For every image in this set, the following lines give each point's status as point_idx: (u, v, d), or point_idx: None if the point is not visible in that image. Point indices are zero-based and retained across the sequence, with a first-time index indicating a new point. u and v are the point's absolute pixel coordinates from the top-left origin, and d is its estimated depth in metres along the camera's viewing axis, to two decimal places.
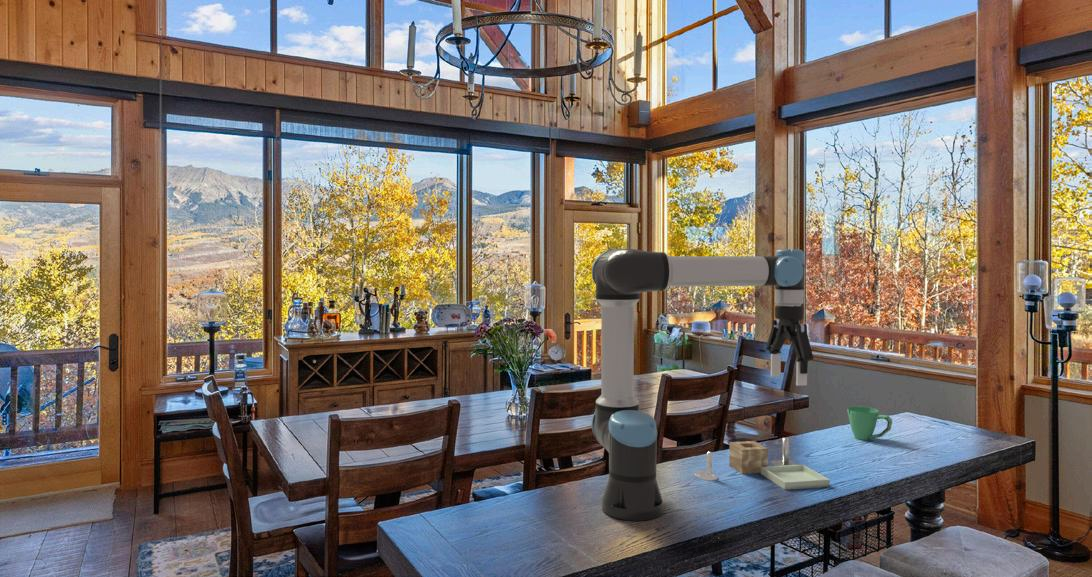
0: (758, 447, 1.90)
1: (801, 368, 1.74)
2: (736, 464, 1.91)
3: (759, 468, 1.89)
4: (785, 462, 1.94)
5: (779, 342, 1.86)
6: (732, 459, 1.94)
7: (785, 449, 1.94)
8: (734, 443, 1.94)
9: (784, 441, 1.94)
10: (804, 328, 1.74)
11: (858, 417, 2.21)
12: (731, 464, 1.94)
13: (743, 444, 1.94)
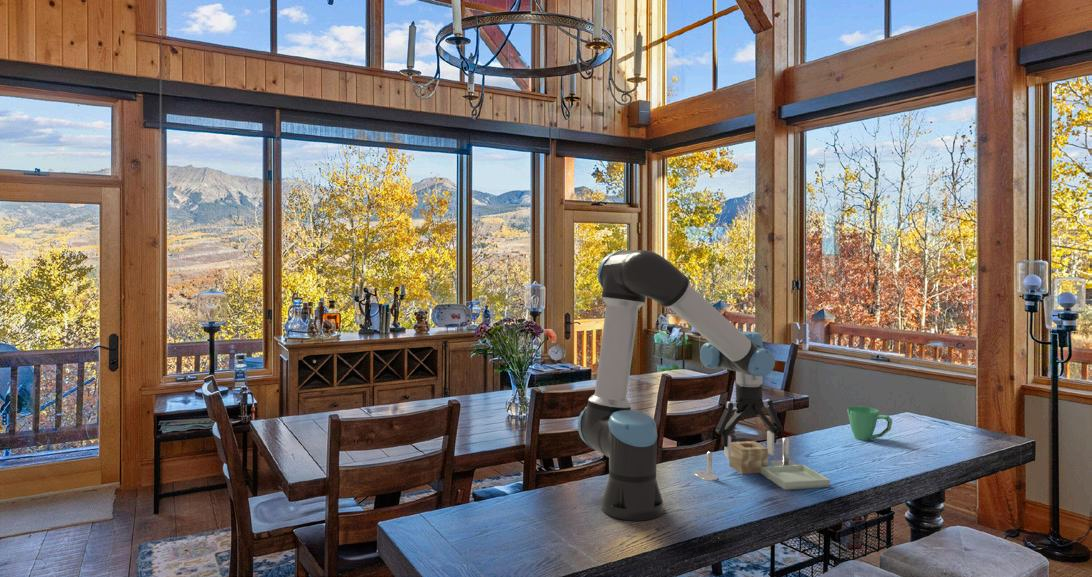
0: (758, 447, 1.90)
1: None
2: (736, 464, 1.91)
3: (759, 468, 1.89)
4: (785, 462, 1.94)
5: (762, 420, 1.93)
6: (732, 459, 1.94)
7: (785, 449, 1.94)
8: (734, 443, 1.94)
9: (784, 441, 1.94)
10: (728, 406, 1.90)
11: (859, 417, 2.21)
12: (731, 464, 1.94)
13: (743, 444, 1.94)
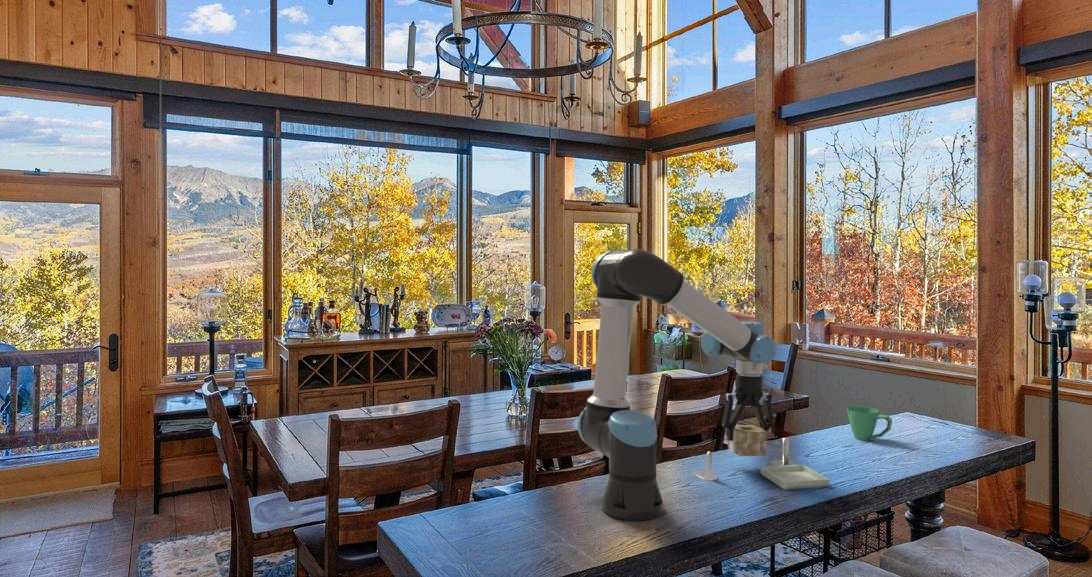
0: (757, 430, 1.90)
1: None
2: None
3: (758, 451, 1.88)
4: (785, 462, 1.94)
5: (756, 413, 1.92)
6: None
7: (785, 449, 1.94)
8: None
9: (784, 441, 1.94)
10: (727, 398, 1.90)
11: (858, 417, 2.21)
12: None
13: (742, 427, 1.94)
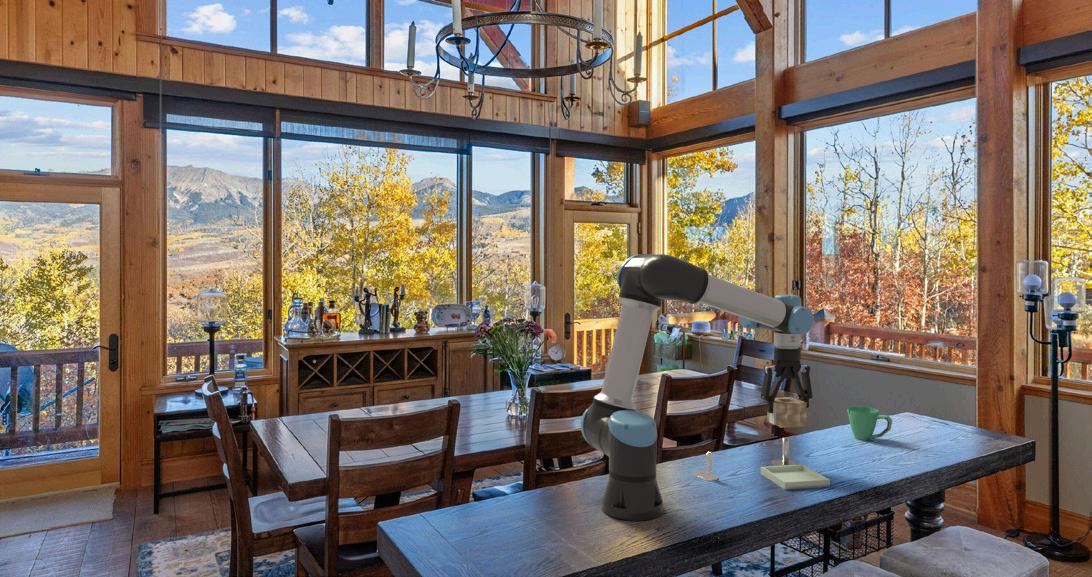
0: (797, 401, 1.91)
1: None
2: None
3: (798, 422, 1.90)
4: (785, 462, 1.94)
5: (795, 385, 1.94)
6: None
7: (785, 449, 1.94)
8: None
9: (784, 441, 1.94)
10: (767, 371, 1.92)
11: (858, 417, 2.21)
12: None
13: (781, 399, 1.96)
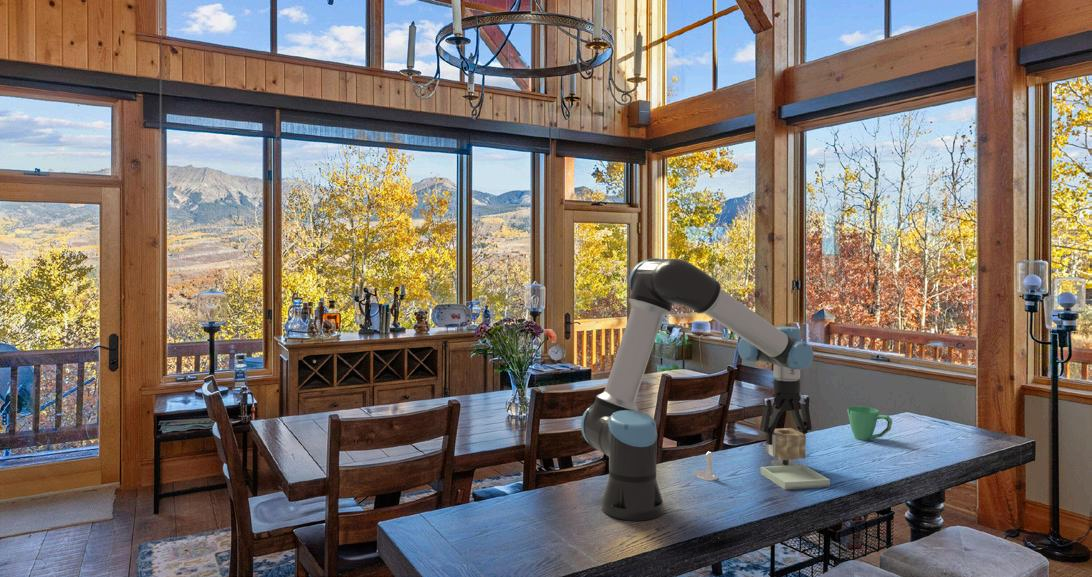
0: (796, 434, 1.92)
1: None
2: None
3: (797, 454, 1.91)
4: (785, 462, 1.94)
5: (794, 417, 1.95)
6: None
7: None
8: None
9: None
10: (766, 403, 1.92)
11: (859, 417, 2.21)
12: (768, 451, 1.96)
13: (780, 431, 1.96)
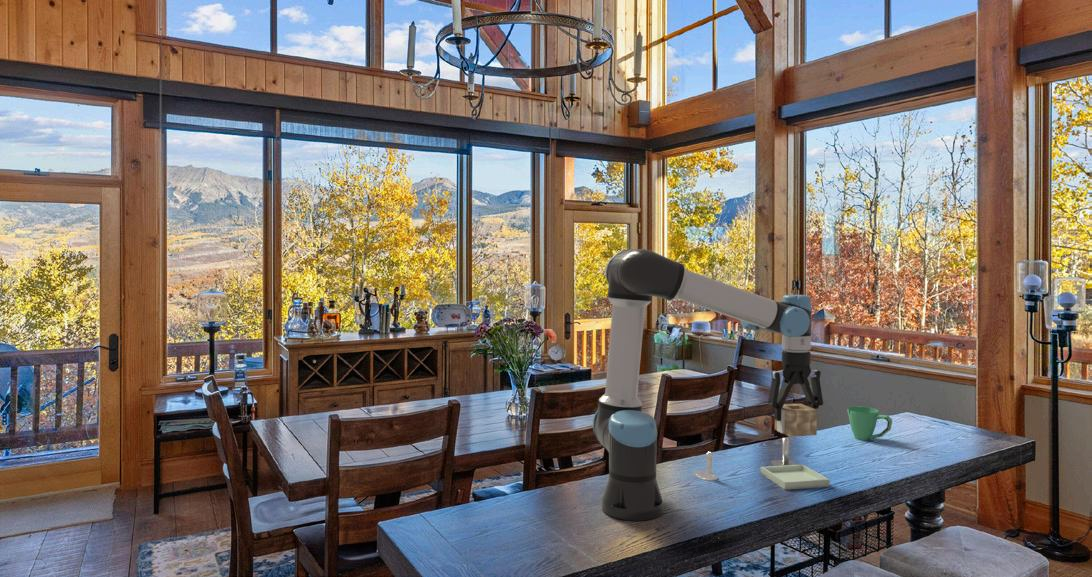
0: (806, 409, 1.79)
1: None
2: None
3: (808, 431, 1.78)
4: (785, 462, 1.94)
5: (804, 391, 1.82)
6: None
7: (785, 449, 1.94)
8: None
9: (784, 441, 1.94)
10: (774, 376, 1.80)
11: (859, 417, 2.21)
12: None
13: (789, 406, 1.84)
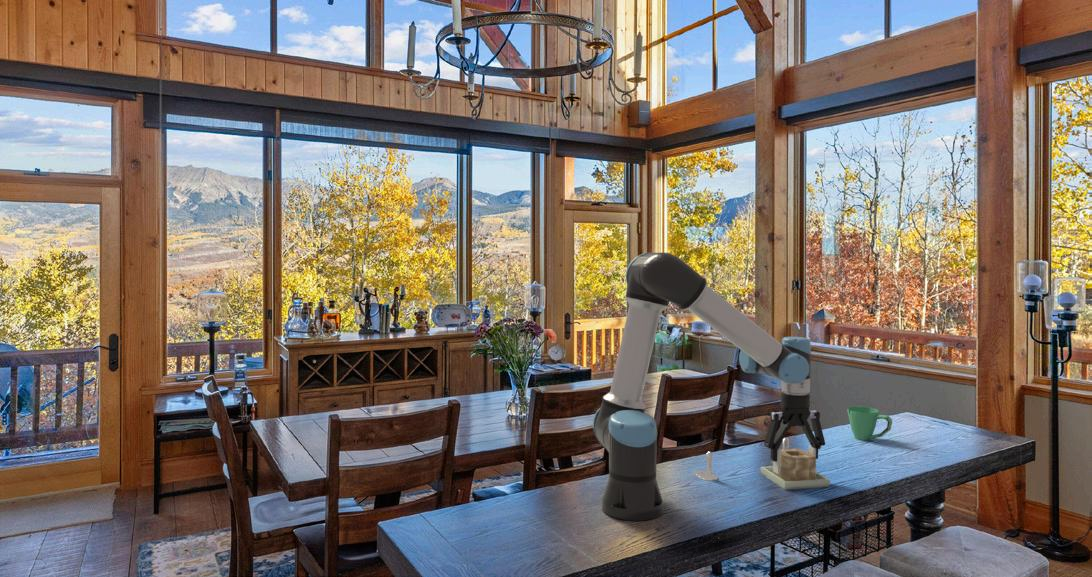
0: (805, 455, 1.80)
1: None
2: (782, 474, 1.81)
3: (807, 477, 1.79)
4: None
5: (805, 432, 1.83)
6: None
7: None
8: None
9: (784, 441, 1.94)
10: (773, 417, 1.80)
11: (859, 417, 2.21)
12: (776, 473, 1.84)
13: (789, 452, 1.84)
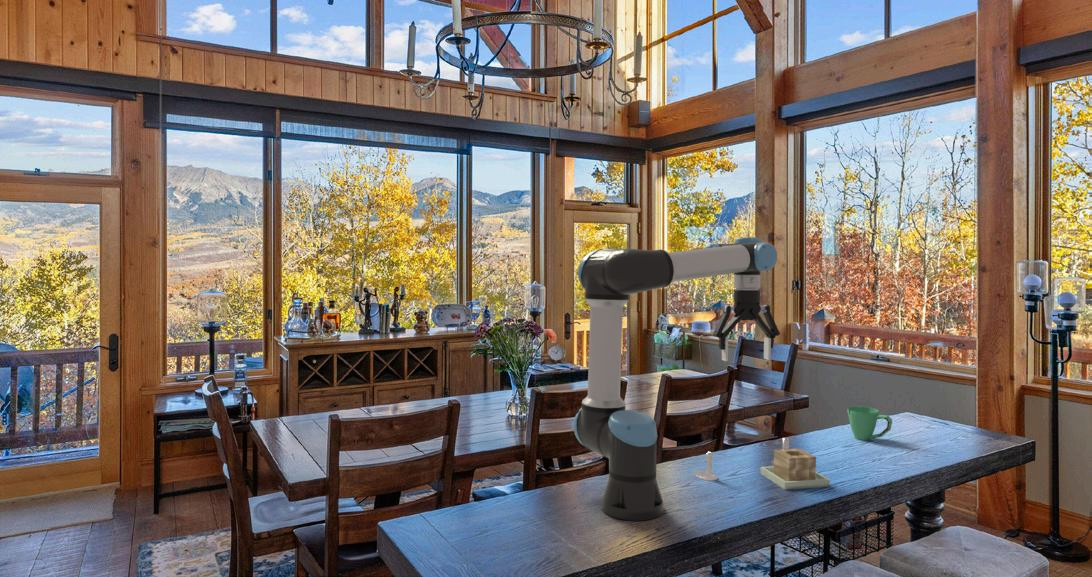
0: (805, 455, 1.80)
1: None
2: (782, 474, 1.81)
3: (807, 477, 1.79)
4: None
5: (759, 325, 1.96)
6: (777, 468, 1.84)
7: None
8: (779, 451, 1.84)
9: (784, 441, 1.94)
10: (725, 309, 1.93)
11: (858, 417, 2.21)
12: (776, 473, 1.84)
13: (789, 452, 1.84)
